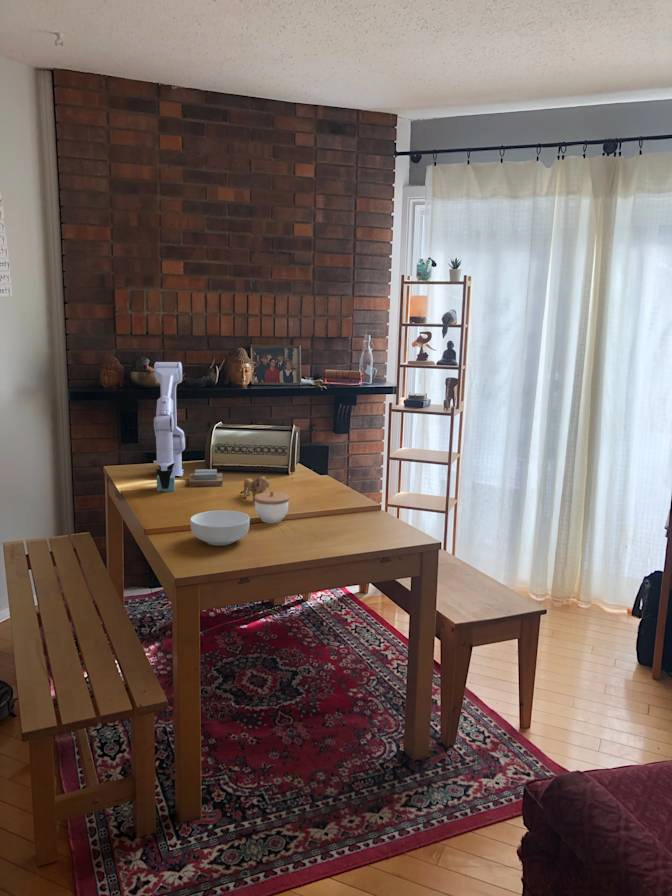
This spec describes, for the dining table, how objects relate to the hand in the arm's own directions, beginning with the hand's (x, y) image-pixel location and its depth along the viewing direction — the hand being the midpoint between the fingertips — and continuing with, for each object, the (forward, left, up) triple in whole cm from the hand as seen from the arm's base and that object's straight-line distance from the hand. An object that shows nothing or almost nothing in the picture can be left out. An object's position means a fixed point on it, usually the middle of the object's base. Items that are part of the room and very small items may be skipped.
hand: (166, 485), depth 265 cm
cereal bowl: (+58, +19, -2) cm, 61 cm away
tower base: (-9, +14, -1) cm, 17 cm away
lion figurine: (+16, +31, -2) cm, 35 cm away
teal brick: (0, 0, -2) cm, 2 cm away
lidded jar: (+40, +35, -2) cm, 53 cm away
